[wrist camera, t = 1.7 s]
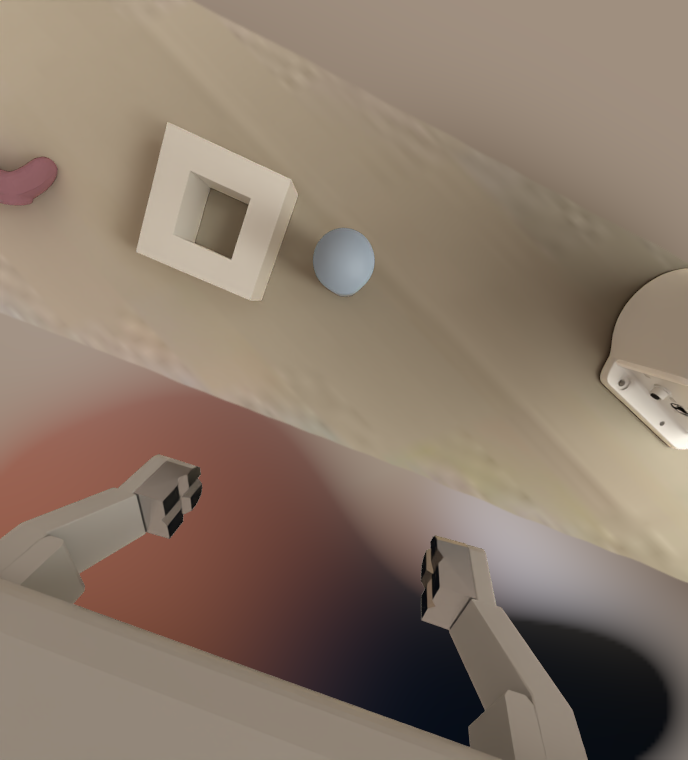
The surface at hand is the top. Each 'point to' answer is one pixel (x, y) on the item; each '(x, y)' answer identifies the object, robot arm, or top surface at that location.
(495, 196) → the top surface
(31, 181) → the video game controller
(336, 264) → the peg
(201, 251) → the socket block
